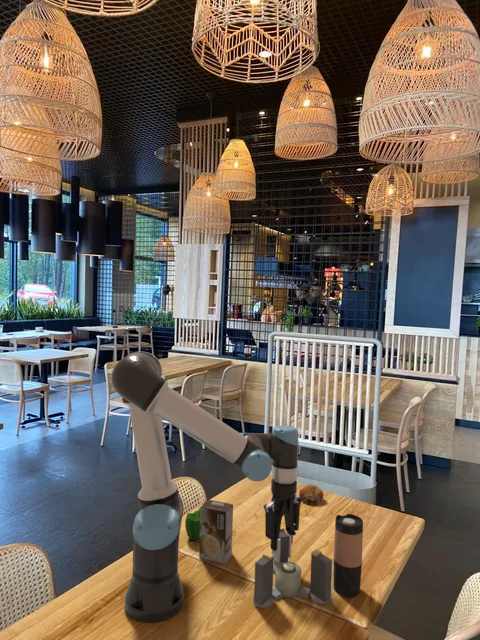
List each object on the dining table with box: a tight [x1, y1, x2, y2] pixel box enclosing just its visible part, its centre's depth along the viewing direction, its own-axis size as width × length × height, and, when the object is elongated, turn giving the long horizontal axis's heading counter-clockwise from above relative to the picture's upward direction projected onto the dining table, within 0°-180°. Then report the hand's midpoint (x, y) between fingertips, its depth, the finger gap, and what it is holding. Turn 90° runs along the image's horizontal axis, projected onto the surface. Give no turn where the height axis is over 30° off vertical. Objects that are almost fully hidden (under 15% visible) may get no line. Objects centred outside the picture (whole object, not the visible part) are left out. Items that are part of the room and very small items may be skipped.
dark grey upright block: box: [252, 551, 274, 609], centre depth 117 cm, size 5×5×12 cm
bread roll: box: [298, 483, 324, 505], centre depth 182 cm, size 10×10×8 cm
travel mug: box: [333, 513, 364, 599], centre depth 123 cm, size 8×8×20 cm
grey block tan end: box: [273, 525, 289, 575], centre depth 131 cm, size 5×5×12 cm
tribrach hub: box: [272, 561, 311, 601], centre depth 123 cm, size 12×11×7 cm
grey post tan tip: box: [309, 548, 333, 606], centre depth 119 cm, size 5×5×12 cm
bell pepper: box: [185, 507, 200, 542], centre depth 149 cm, size 8×8×10 cm
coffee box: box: [198, 499, 234, 565], centre depth 138 cm, size 9×6×16 cm
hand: (281, 557), depth 131 cm, fingers closed on grey block tan end, 4 cm apart
